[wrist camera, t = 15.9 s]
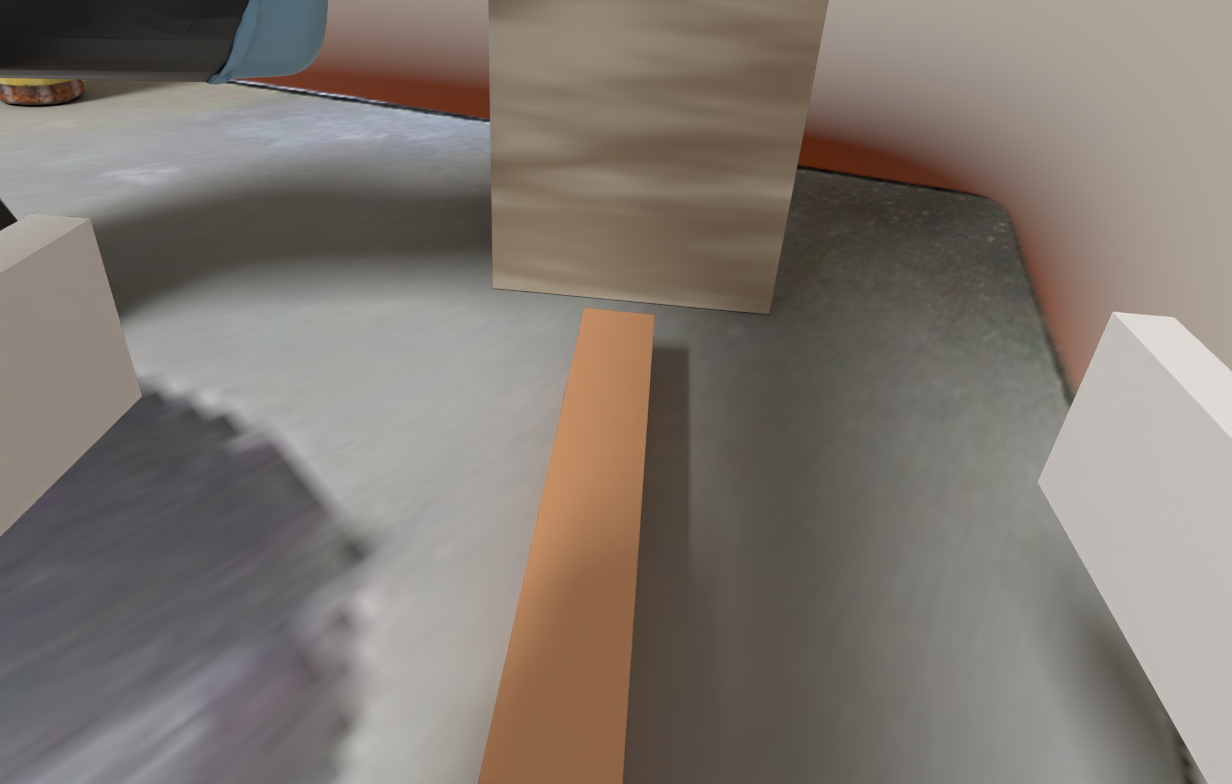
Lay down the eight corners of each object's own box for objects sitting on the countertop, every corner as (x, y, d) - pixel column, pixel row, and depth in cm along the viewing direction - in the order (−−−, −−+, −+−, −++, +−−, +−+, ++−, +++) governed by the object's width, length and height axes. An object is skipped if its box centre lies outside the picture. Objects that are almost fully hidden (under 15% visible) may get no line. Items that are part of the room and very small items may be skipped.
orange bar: (594, 1120, 15) (604, 1055, 14) (431, 1102, 15) (421, 1034, 14) (648, 374, 37) (654, 314, 35) (580, 367, 37) (584, 308, 35)
